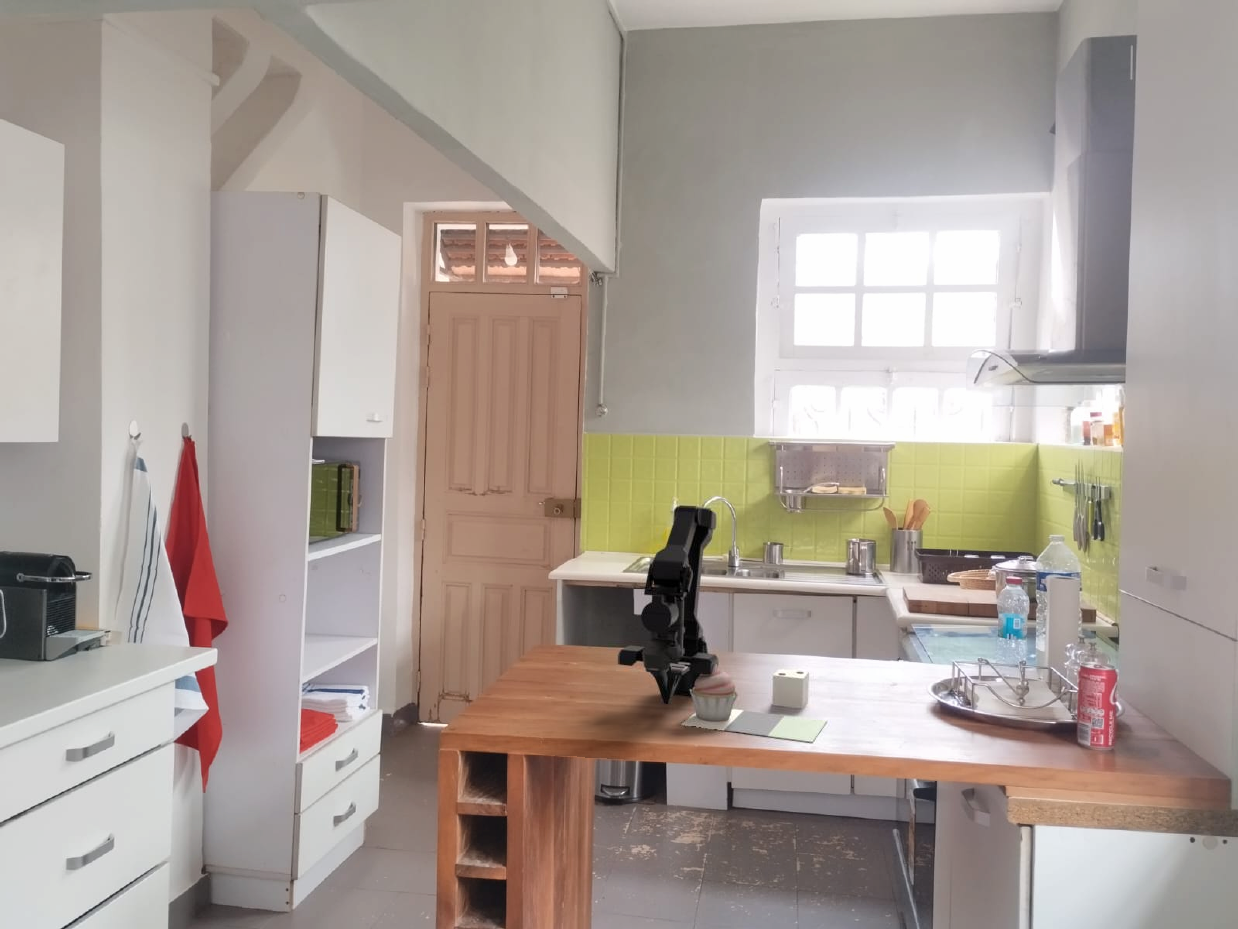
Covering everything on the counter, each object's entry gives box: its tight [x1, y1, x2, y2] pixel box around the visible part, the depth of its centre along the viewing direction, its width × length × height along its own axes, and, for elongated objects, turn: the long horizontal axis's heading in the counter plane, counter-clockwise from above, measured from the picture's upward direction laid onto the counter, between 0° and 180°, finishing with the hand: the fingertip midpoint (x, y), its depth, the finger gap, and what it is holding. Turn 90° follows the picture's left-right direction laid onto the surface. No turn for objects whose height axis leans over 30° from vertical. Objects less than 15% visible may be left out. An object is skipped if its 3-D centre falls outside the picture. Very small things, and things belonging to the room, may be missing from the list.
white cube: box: [771, 668, 810, 709], centre depth 196 cm, size 6×6×6 cm
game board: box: [681, 708, 828, 744], centre depth 181 cm, size 24×14×1 cm, turn 68°
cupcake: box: [690, 664, 740, 721], centre depth 184 cm, size 9×9×10 cm
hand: (666, 704), depth 187 cm, fingers closed
